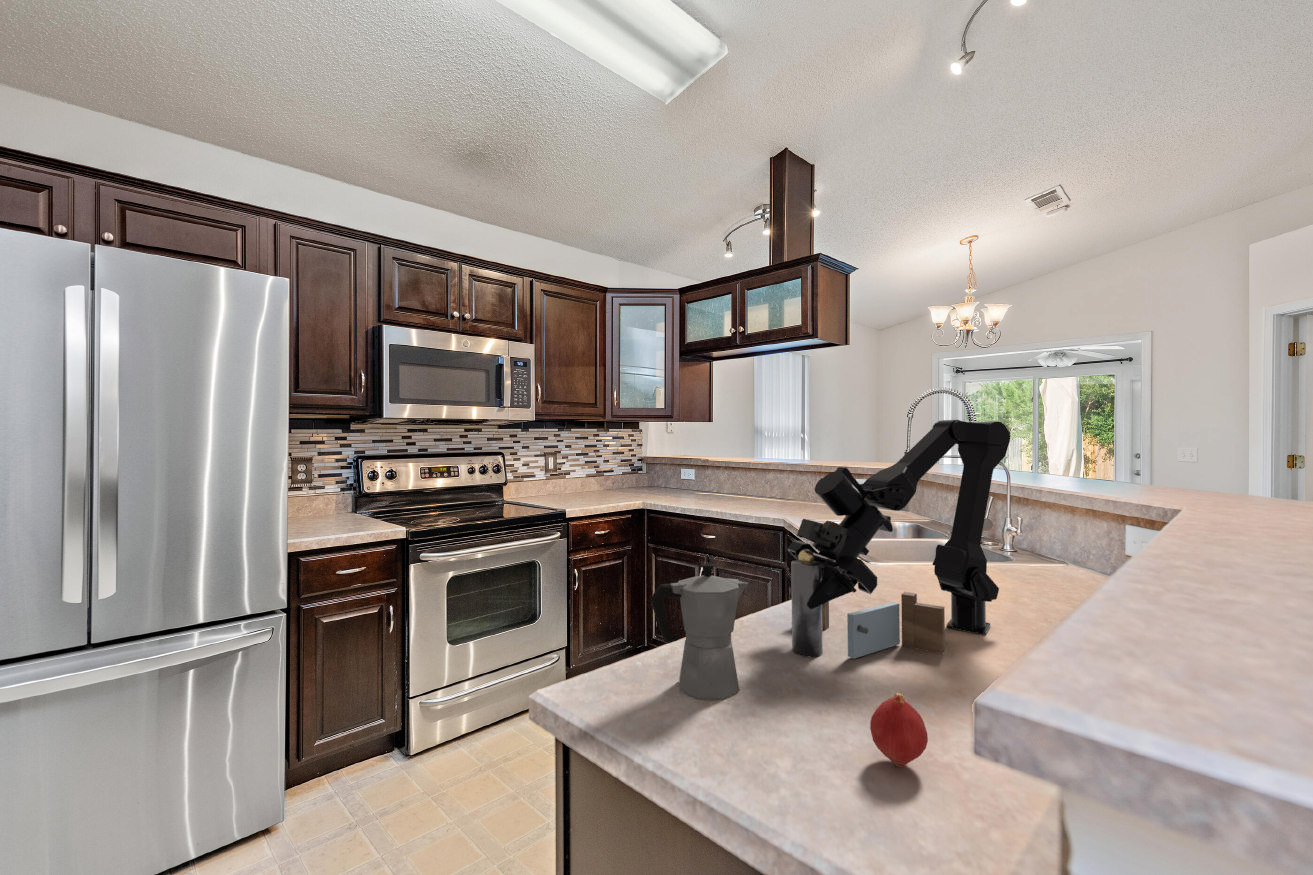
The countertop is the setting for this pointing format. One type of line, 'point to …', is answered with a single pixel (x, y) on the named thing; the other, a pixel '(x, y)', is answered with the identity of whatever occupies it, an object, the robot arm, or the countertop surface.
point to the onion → (898, 731)
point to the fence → (914, 624)
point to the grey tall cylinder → (803, 618)
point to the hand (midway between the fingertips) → (799, 602)
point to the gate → (873, 629)
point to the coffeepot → (704, 632)
